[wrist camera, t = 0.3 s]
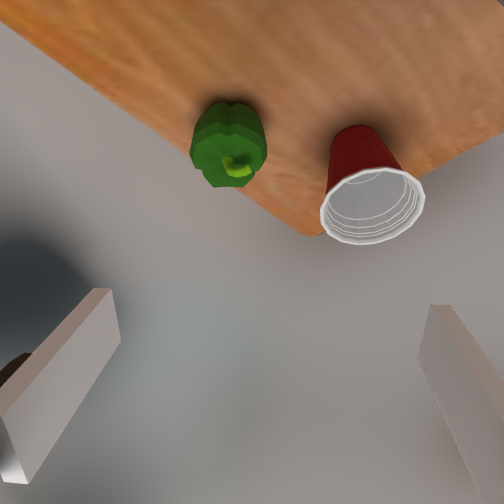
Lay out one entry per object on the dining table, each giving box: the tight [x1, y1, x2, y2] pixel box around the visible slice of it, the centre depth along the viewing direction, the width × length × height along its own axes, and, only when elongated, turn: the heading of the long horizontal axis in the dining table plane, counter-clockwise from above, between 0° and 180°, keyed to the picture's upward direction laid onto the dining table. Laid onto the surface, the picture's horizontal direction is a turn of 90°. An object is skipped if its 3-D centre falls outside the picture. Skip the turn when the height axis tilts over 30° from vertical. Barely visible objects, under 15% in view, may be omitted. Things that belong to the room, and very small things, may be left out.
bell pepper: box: [189, 103, 267, 188], centre depth 41 cm, size 8×8×10 cm
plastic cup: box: [320, 125, 425, 245], centre depth 43 cm, size 11×11×12 cm
